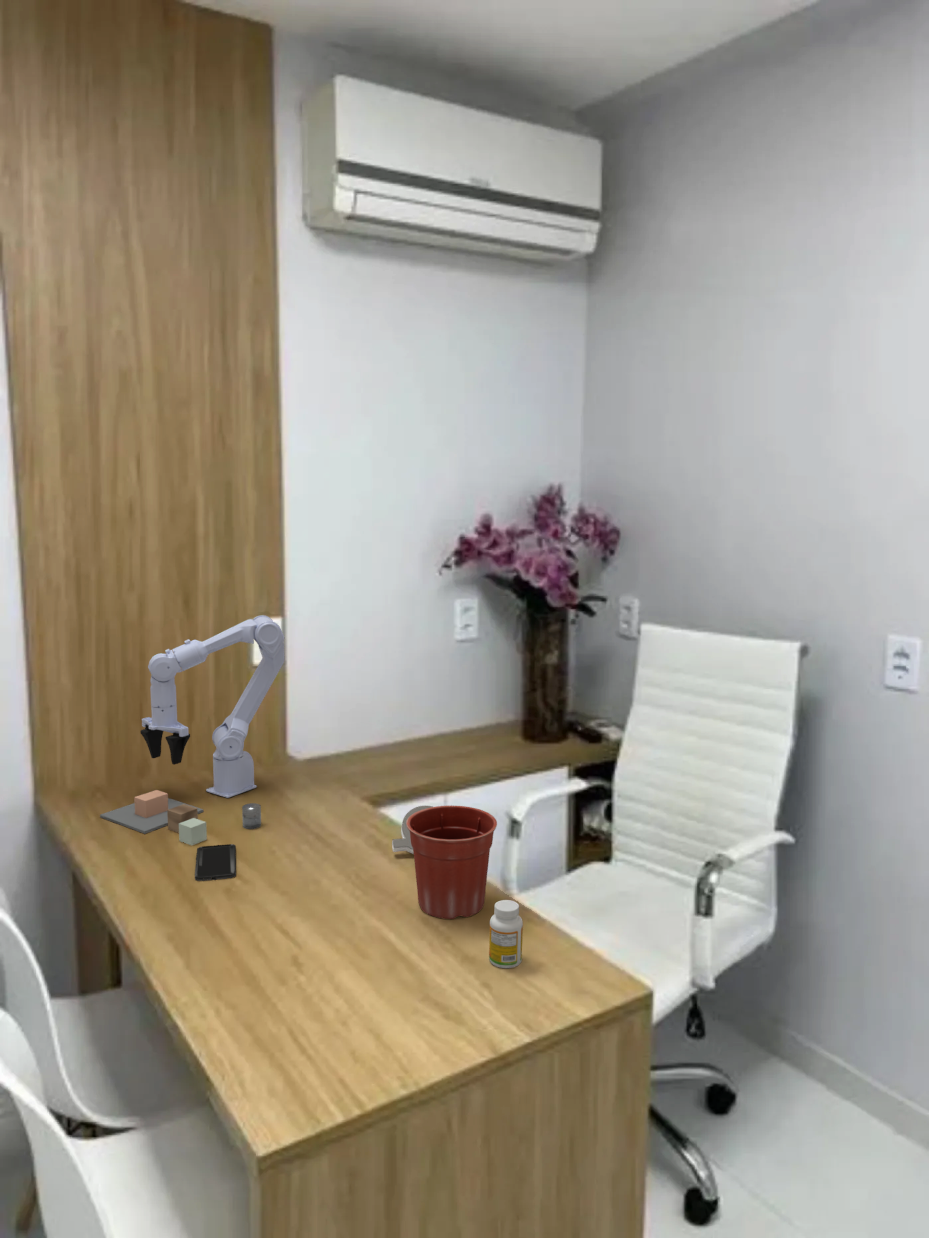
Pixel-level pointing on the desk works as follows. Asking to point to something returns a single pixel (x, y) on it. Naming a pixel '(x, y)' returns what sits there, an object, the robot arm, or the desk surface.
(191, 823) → the square sage brick
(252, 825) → the metal cylinder
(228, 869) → the phone
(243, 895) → the desk surface
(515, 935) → the supplement bottle
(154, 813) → the terracotta brick
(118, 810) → the desk mat
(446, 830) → the flower pot
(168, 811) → the walnut cube
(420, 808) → the grey disc with foot
